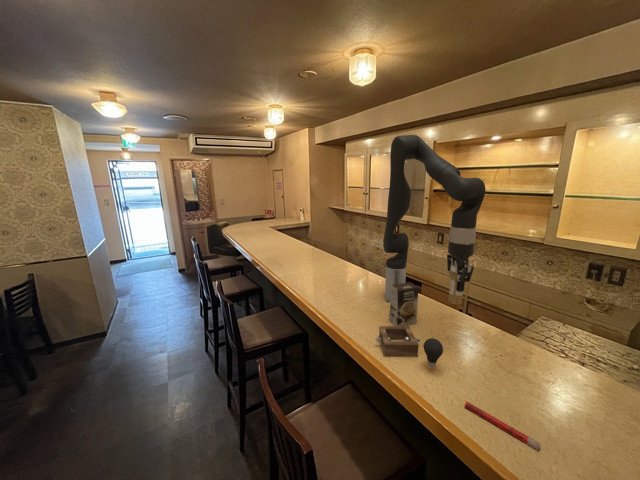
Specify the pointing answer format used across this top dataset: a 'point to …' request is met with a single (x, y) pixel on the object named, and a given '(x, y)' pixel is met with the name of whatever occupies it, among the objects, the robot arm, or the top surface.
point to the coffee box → (403, 304)
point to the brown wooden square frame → (398, 347)
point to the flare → (503, 426)
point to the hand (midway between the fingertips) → (456, 287)
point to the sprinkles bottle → (454, 288)
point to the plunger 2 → (409, 339)
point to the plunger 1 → (382, 339)
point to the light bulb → (433, 351)
